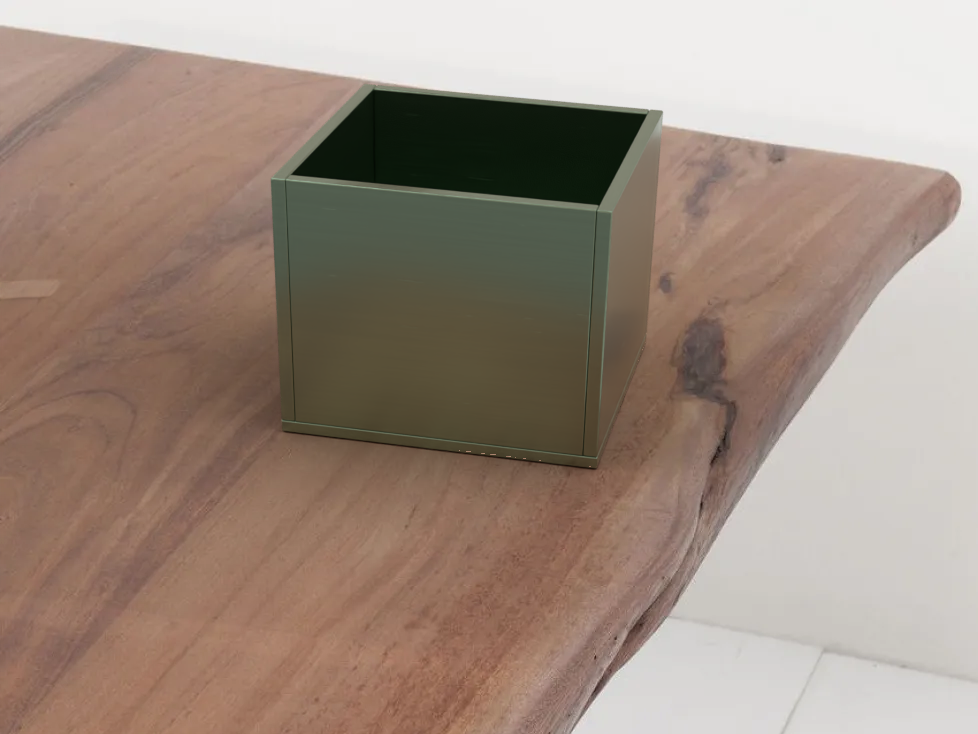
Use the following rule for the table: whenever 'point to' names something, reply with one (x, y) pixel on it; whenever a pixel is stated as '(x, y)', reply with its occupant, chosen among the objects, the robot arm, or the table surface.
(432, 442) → the bin
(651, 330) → the table surface
